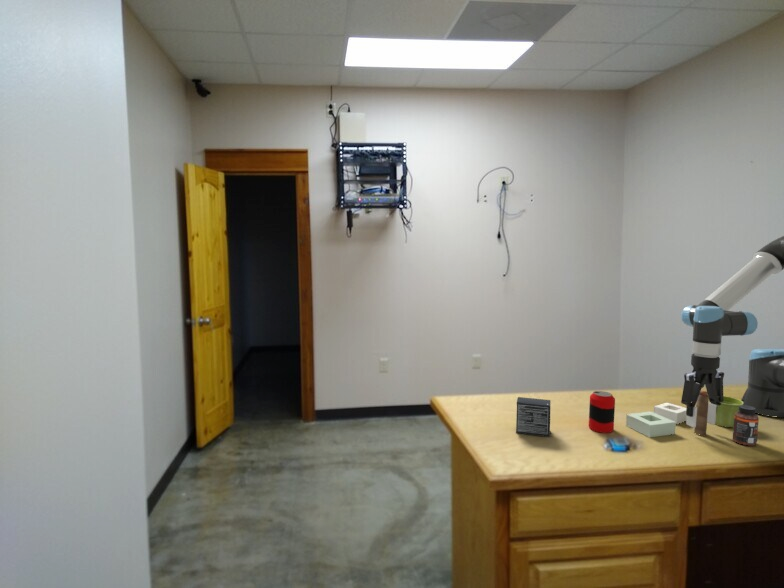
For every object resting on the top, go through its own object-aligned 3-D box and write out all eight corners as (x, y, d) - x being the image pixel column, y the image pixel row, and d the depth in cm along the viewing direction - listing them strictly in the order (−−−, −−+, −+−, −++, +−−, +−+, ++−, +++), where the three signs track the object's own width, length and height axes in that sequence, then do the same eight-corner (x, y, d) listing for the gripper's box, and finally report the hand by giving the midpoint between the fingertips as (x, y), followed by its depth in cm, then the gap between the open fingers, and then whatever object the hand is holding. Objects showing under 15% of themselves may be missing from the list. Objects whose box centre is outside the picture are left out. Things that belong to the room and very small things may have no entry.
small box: (550, 430, 153) (551, 399, 152) (549, 437, 147) (551, 405, 146) (517, 426, 157) (517, 395, 156) (515, 433, 151) (516, 402, 149)
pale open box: (650, 422, 159) (650, 411, 159) (674, 434, 150) (675, 422, 149) (625, 425, 157) (626, 414, 156) (649, 437, 147) (650, 425, 147)
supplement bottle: (757, 448, 139) (760, 411, 138) (733, 444, 142) (736, 408, 141) (755, 441, 144) (758, 406, 143) (731, 437, 147) (734, 402, 146)
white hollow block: (666, 413, 168) (666, 402, 168) (689, 420, 162) (690, 409, 161) (653, 417, 164) (654, 406, 164) (676, 424, 157) (677, 413, 157)
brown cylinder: (699, 431, 152) (702, 389, 150) (708, 435, 149) (711, 392, 147) (691, 432, 151) (694, 390, 150) (700, 436, 148) (703, 393, 147)
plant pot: (743, 424, 158) (745, 399, 157) (739, 432, 151) (741, 406, 150) (710, 417, 164) (712, 393, 163) (705, 424, 157) (707, 400, 157)
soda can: (594, 422, 159) (595, 388, 158) (617, 428, 154) (618, 393, 153) (584, 428, 154) (586, 393, 153) (608, 435, 149) (610, 399, 148)
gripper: (719, 350, 153) (714, 417, 156) (670, 354, 148) (665, 423, 151) (741, 355, 146) (736, 425, 149) (690, 359, 141) (686, 432, 143)
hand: (700, 424), depth 150 cm, fingers open, 7 cm apart
